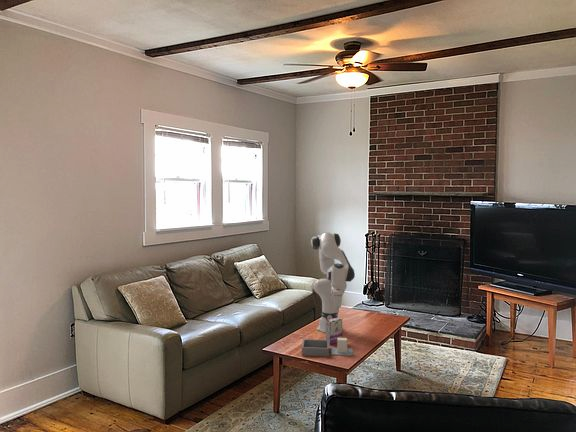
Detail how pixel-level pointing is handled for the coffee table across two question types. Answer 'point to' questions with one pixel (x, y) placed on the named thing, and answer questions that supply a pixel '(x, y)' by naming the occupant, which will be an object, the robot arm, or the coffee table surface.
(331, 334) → the candy bar box
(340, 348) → the cream block
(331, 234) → the robot arm
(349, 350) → the coaster board
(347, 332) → the coffee table surface
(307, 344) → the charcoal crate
